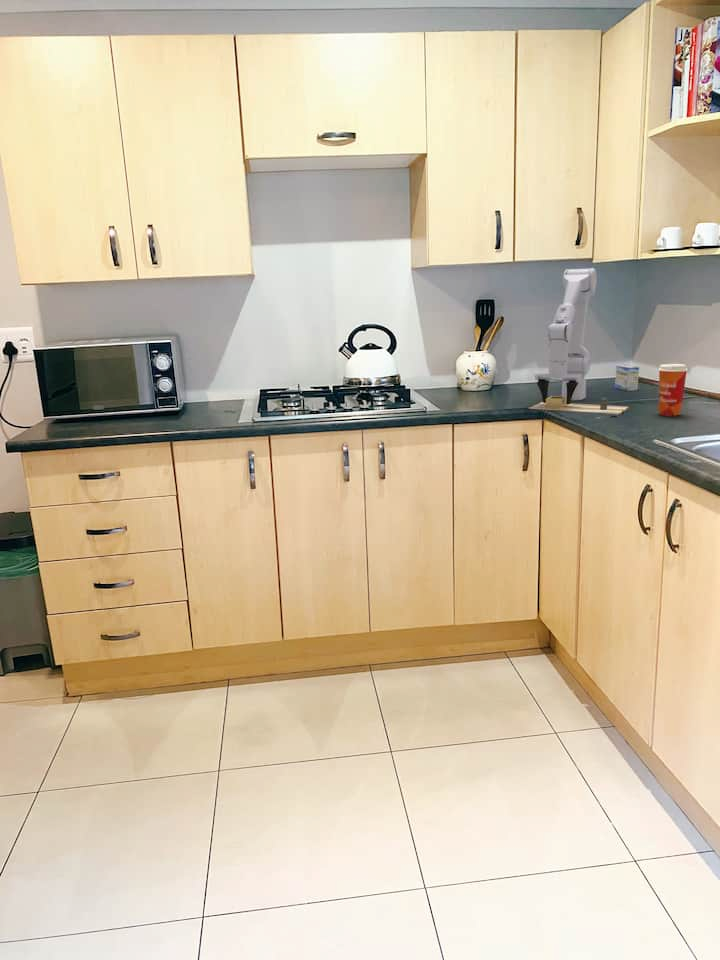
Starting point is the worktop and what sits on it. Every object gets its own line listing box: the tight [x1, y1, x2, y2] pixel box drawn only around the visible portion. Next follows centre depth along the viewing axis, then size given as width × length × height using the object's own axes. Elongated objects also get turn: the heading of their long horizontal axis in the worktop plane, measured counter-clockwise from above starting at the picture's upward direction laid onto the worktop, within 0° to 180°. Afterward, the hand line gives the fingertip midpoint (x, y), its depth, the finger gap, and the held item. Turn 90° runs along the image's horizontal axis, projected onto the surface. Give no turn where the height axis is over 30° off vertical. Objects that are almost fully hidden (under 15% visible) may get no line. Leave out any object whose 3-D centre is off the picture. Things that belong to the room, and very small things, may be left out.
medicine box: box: [614, 364, 640, 392], centre depth 269 cm, size 8×4×9 cm, turn 17°
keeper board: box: [529, 397, 629, 417], centre depth 230 cm, size 14×28×4 cm, turn 57°
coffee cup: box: [658, 363, 689, 417], centre depth 217 cm, size 8×8×15 cm
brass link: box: [546, 395, 568, 408], centre depth 234 cm, size 6×6×3 cm
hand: (556, 403), depth 234 cm, fingers open, 7 cm apart
